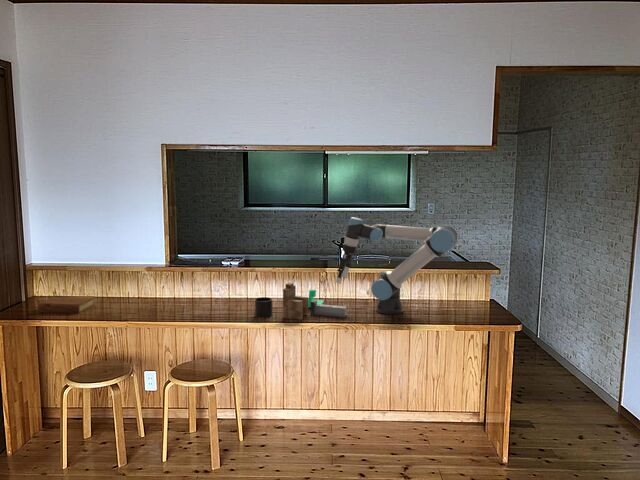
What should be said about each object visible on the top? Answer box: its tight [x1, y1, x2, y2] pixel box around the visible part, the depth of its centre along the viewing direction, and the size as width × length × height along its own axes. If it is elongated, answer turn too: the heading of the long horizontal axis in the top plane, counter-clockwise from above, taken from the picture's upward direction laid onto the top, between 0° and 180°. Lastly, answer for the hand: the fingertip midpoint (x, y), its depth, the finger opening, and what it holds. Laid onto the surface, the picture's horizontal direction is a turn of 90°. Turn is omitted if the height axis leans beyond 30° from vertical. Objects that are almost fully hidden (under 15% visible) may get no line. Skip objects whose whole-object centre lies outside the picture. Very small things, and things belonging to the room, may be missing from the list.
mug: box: [254, 296, 273, 318], centre depth 282 cm, size 9×12×9 cm
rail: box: [310, 299, 348, 318], centre depth 283 cm, size 20×4×7 cm, turn 72°
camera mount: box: [308, 289, 325, 308], centre depth 300 cm, size 12×8×10 cm, turn 172°
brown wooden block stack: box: [282, 282, 309, 321], centre depth 279 cm, size 10×11×18 cm
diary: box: [37, 295, 96, 314], centre depth 292 cm, size 23×19×6 cm
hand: (341, 280), depth 287 cm, fingers open, 13 cm apart
